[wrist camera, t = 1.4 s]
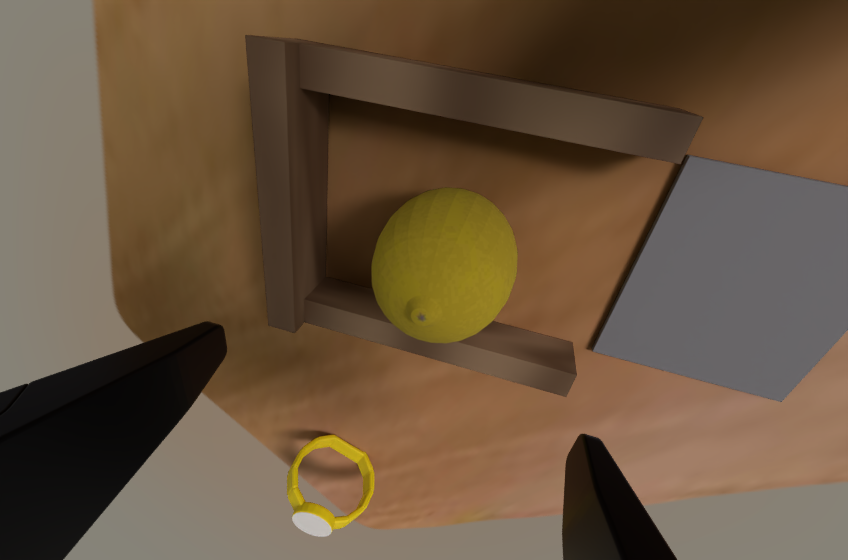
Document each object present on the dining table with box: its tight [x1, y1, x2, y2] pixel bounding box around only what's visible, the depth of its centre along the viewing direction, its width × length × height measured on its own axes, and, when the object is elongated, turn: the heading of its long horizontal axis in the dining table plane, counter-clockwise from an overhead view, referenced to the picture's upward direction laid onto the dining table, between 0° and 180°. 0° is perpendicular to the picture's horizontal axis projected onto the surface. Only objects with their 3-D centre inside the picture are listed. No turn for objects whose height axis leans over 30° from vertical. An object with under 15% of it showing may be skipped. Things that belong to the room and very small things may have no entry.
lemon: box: [371, 188, 518, 343], centre depth 15 cm, size 6×6×8 cm
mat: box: [592, 155, 848, 402], centre depth 17 cm, size 9×10×1 cm
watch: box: [287, 434, 374, 537], centre depth 28 cm, size 6×3×6 cm, turn 61°
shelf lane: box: [245, 35, 703, 397], centre depth 17 cm, size 16×13×4 cm
